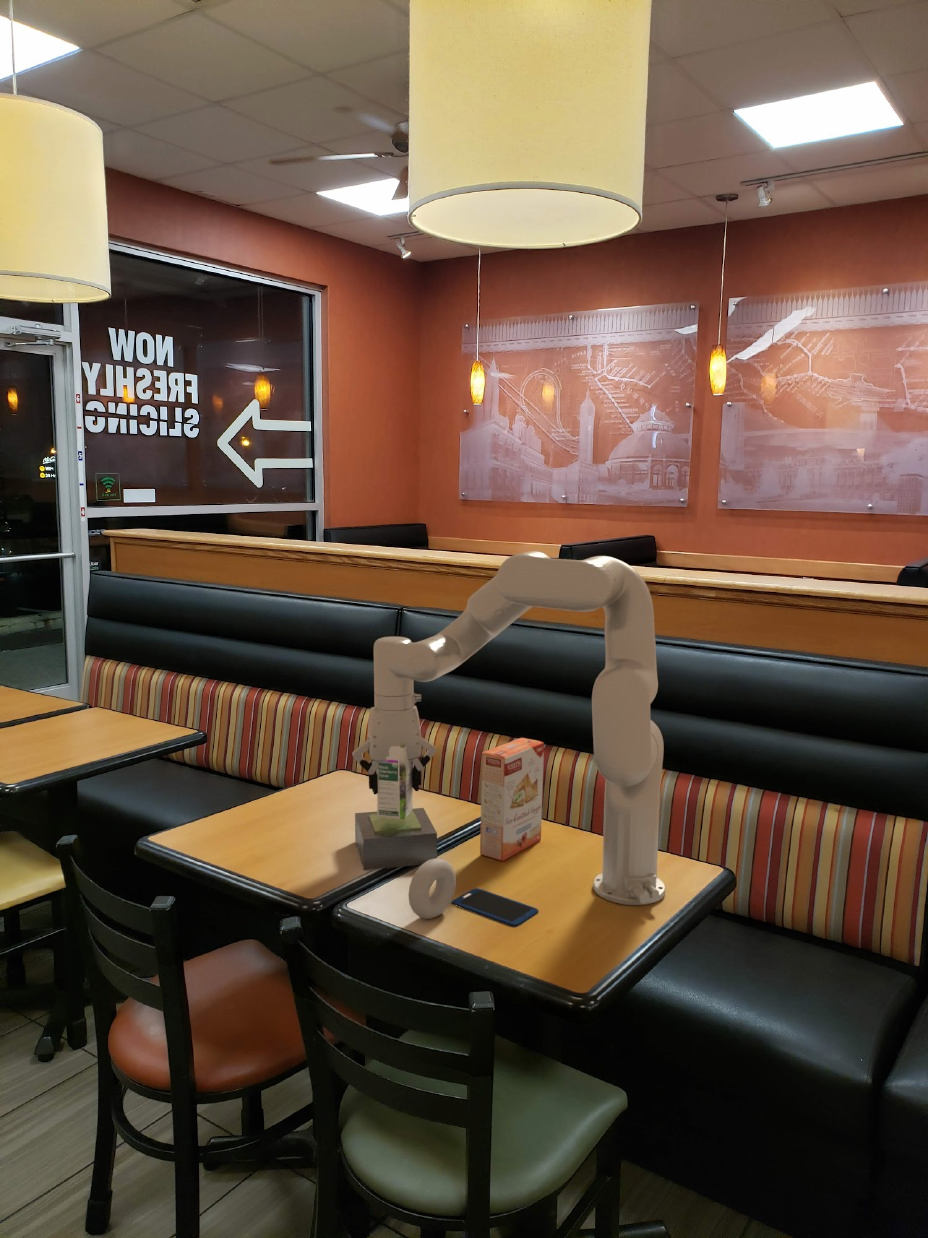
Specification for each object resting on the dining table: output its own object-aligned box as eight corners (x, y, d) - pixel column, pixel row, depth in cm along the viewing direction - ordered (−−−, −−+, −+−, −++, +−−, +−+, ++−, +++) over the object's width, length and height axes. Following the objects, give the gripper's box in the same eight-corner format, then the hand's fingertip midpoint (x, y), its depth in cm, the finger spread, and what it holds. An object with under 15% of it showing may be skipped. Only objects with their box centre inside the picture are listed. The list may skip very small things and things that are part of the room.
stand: (437, 863, 173) (437, 831, 172) (363, 870, 169) (363, 837, 168) (423, 835, 186) (423, 806, 185) (355, 841, 183) (354, 811, 182)
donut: (419, 931, 146) (419, 872, 145) (404, 924, 149) (403, 866, 147) (460, 909, 154) (460, 853, 152) (445, 903, 156) (445, 848, 155)
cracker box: (504, 863, 173) (505, 757, 170) (478, 855, 176) (479, 751, 173) (543, 840, 184) (545, 740, 181) (518, 834, 187) (520, 735, 184)
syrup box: (376, 818, 174) (375, 745, 172) (386, 807, 180) (385, 736, 178) (404, 820, 173) (404, 747, 171) (413, 810, 179) (413, 738, 177)
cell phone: (475, 891, 162) (475, 887, 162) (540, 913, 153) (540, 909, 153) (449, 905, 156) (449, 901, 156) (515, 930, 148) (515, 925, 147)
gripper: (434, 694, 179) (435, 781, 181) (346, 699, 175) (348, 787, 177) (442, 703, 172) (443, 793, 174) (350, 708, 168) (352, 800, 170)
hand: (395, 790), depth 176 cm, fingers closed on syrup box, 7 cm apart
